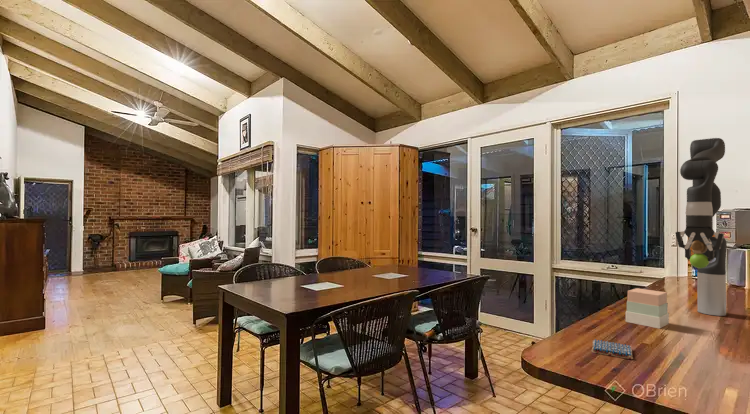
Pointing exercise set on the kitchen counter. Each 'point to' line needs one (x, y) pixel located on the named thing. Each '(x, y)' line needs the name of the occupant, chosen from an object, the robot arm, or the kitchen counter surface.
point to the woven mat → (612, 349)
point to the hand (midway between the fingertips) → (699, 260)
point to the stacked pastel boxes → (647, 308)
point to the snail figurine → (699, 254)
